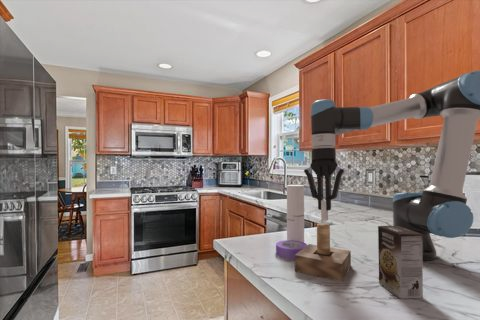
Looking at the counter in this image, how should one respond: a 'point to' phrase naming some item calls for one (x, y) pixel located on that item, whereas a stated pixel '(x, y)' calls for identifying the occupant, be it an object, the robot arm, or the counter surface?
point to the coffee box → (401, 261)
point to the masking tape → (289, 248)
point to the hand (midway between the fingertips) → (324, 220)
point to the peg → (323, 239)
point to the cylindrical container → (295, 212)
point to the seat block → (323, 262)
